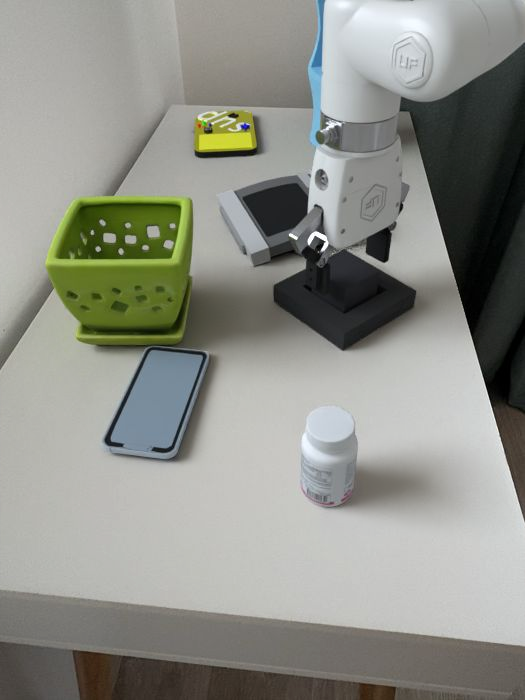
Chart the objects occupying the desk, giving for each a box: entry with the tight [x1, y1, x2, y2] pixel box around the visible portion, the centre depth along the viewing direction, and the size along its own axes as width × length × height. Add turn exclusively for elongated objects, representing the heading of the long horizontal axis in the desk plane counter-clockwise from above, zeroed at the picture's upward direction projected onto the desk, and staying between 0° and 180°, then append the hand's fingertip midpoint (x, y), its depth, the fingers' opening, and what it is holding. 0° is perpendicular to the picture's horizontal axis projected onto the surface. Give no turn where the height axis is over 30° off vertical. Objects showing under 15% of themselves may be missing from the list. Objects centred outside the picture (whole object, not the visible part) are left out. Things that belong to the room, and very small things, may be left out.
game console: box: [193, 109, 258, 159], centre depth 114 cm, size 18×11×2 cm, turn 5°
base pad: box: [272, 248, 418, 351], centre depth 75 cm, size 12×12×2 cm
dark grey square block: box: [312, 252, 379, 314], centre depth 74 cm, size 6×6×4 cm
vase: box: [307, 0, 325, 149], centre depth 102 cm, size 10×10×25 cm
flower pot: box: [44, 195, 194, 346], centre depth 70 cm, size 14×14×13 cm
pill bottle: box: [299, 405, 359, 508], centre depth 53 cm, size 5×5×8 cm
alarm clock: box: [216, 168, 363, 267], centre depth 89 cm, size 17×5×16 cm
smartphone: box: [101, 345, 210, 460], centre depth 64 cm, size 7×1×15 cm
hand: (347, 273), depth 73 cm, fingers open, 9 cm apart
